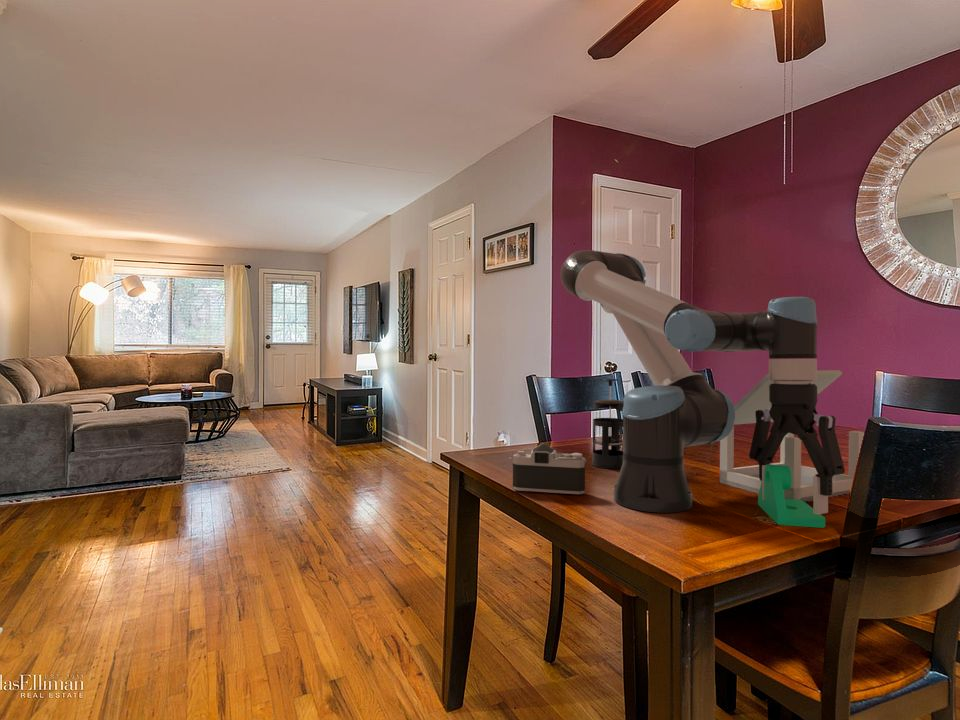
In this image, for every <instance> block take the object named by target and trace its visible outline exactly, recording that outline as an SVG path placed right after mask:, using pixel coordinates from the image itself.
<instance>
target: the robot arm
mask: <svg viewBox="0 0 960 720" xmlns="http://www.w3.org/2000/svg"><path fill="white" fill-rule="evenodd" d="M561 265H562V266H561V269H560V282H561V284H562V286H563V287H564V290H566V291H567V292H568V293H569V294H571V295H573V296H574V297H576V298H578V299H579V300H580V299H581V300H583V301H586V302H591V301H594V302H597V303H598V304H600V306H601V308H602V309H603V311H604V312H606V313H607V314H612V315H613V316H614V318H615V319H616V321H617V323H618V325H619V327H620V329H621V330H622V332H623V333H624V335H625V336H626V338H627V340H628V342H629V343H630V345H631V347H632V350H633V351H634V352H635V354H636V355H637V358H638V359H639V361H640V363H641V365H642V366H643V368H644V370H645V371H646V373H647V375H648V377H649V378H650V380H651V382H652V384H653V385H651V386H649V385H648V386H647V385H646V386H642V387H641V386H640V387H635V388H633V389H629V391H627V392H626V393H625V395H624V397H623V401H624V407H623V410H622V411H621V413H622V419H623V427H622V440H623V445H622V449H623V450H622V451H623V464H622V467H621V468H620V471H619V473H618V477H617V480H616V484H615V485H614V489H613V499H614V501H615V503H617V504H619V505H621V506H622V507H625V508H629V509H632V510H635V511H637V510H638V511H641V512H649V513H661V514H663V513H664V514H665V513H666V514H668V513H673V514H674V513H682V512H685V511H688V510H690V509H691V508H692V507H693V493H692V490H691V489H690V485H689V482H688V478H687V474H686V470H685V468H684V448H687V447H693V446H694V447H695V446H701V445H702V446H705V445H706V446H708V445H711V444H713V443H717V442H720V440H722V439H724V438H725V437H726V436H727V435H728V434H729V433H730V432H731V430H732V428H733V427H734V426H735V424H734V420H735V408H734V406H735V405H734V403H733V400H732V399H731V398H730V396H728V394H726V393H725V392H723V391H721V390H718V389H715V388H712V386H711V385H710V384H709V382H708V380H707V379H706V378H705V376H704V374H702V373H700V372H694V371H692V369H691V368H690V366H689V364H688V363H687V361H686V360H685V358H684V357H683V355H682V354H681V352H680V351H685V352H691V353H694V352H712V351H713V352H724V353H728V352H729V353H734V352H751V351H753V352H754V351H768V373H769V379H770V380H772V381H773V383H772V384H770V385H769V401H770V402H771V404H772V406H771V409H770V410H757V411H756V412H755V415H756V423H755V427H754V431H753V436H752V439H751V445H750V449H749V455H748V457H749V459H751V460H754V461H755V462H757V463H758V465H759V479H760V480H761V481H762V499H763V500H764V470H765V466H766V465H774V464H773V463H775V461H773V459H774V458H775V455H776V454H777V452H778V449H779V448H780V447H781V442H782V440H783V438H784V436H785V435H787V434H788V433H792V434H794V436H795V435H797V437H798V438H799V439H801V442H802V443H803V445H804V447H805V448H804V449H805V450H806V451H807V454H808V456H809V458H810V460H811V462H812V465H813V466H814V467H813V468H815V469H816V471H817V473H818V474H816V475H815V476H813V501H812V502H813V507H812V508H813V513H814V514H817V515H818V514H821V515H823V514H828V513H829V498H828V495H831V494H832V477H833V476H834V475H838V474H845V472H846V470H845V465H844V462H843V457H842V453H841V450H840V445H839V441H838V437H837V434H836V430H835V429H836V417H835V416H834V415H823V414H819V413H818V412H817V408H816V406H817V403H818V395H817V386H816V384H813V381H815V380H817V371H818V357H817V340H818V336H817V333H818V332H817V331H818V329H817V328H818V327H817V326H818V324H819V321H818V319H817V307H816V306H817V305H816V302H815V301H816V300H814V299H813V298H811V297H808V296H787V297H778V298H773V299H770V301H769V302H768V307H767V310H763V311H762V310H761V311H756V312H755V311H754V312H725V311H723V312H722V311H712V310H705V309H703V308H700V307H697V306H695V305H692V304H690V303H688V302H685V301H684V300H681V299H678V298H676V297H673V296H672V295H669V294H667V293H664V292H662V291H659V290H657V289H654V288H652V287H650V286H648V285H646V283H647V282H646V279H645V277H646V276H647V275H646V271H645V268H644V266H643V264H642V263H641V261H639V259H637V258H636V257H633V256H632V255H628V254H625V253H619V252H618V253H613V252H606V251H605V252H604V251H599V250H593V249H582V250H578V251H575V252H573V253H570V255H568V257H567V258H566V259H565V260H564V262H563V263H562V264H561ZM771 419H773V421H774V422H773V424H772V426H771V422H770V420H771ZM814 425H816V427H818V432H817V431H816V428H815V426H814ZM770 426H771V428H770ZM818 436H819V438H820V440H819V438H818Z"/></svg>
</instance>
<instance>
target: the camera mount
mask: <svg viewBox="0 0 960 720" xmlns="http://www.w3.org/2000/svg"><path fill="white" fill-rule="evenodd" d="M791 483H792V477H791V471H790V468H789V467H788V466H787V465H766V466H765V470H764V500H763V499H762V482H761V487H760V491H759V494H757V495H758V496H757V506H759V507H760V509H762V510H763V512H764V513H765V514H767V516H769V518H771V520H772V521H774V522H775V523H776V524H777V525H778V526H792V527H794V526H795V527H804V528H805V527H806V528H819V529H820V528H821V529H823V528H826V517H825V516H824V515H823V514H818V515H817V514H814V513H813V507H812V506H810V505H809V503H807V502H804V501H802V500H798V499H785V497H784V491H783V489H784V490H789V489H790V488H791Z"/></svg>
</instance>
